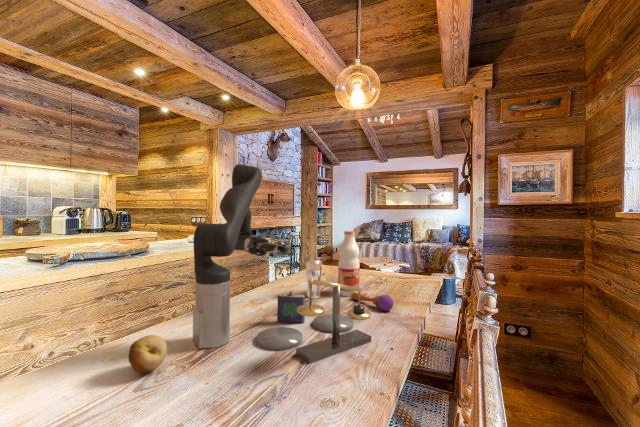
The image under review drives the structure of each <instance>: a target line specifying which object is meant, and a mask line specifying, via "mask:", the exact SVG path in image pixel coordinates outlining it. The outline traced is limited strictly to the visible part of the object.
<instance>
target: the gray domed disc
mask: <svg viewBox="0 0 640 427" xmlns="http://www.w3.org/2000/svg"><path fill="white" fill-rule="evenodd" d="M302 342H303V333H302V332H301V331H300V330H298V329H296V328H293V327H289V326H276V327H269V328H266V329H263V330H262V331H260V332H259V333H257V335H256V343H257V345H258V346H259V347H260V348H262V349H266V350H270V351H286V350H291V349H293V348H297V347H298V346H299V345H301V344H302Z"/></svg>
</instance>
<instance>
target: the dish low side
mask: <svg viewBox="0 0 640 427" xmlns="http://www.w3.org/2000/svg"><path fill="white" fill-rule="evenodd" d="M312 322H313V324H312V325H313V328H314V329H316V330H318V331H320V332H324V333H328V334H329V333H330V334H332V313H331V314H330V313H329V314H322V315H319V316H315V318H313V320H312ZM353 327H354V321H353V319H351V318H349V317H348V316H347V315H342V314H340V328H339V334H341V333H347V332H350V331H352V329H353Z"/></svg>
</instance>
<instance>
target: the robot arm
mask: <svg viewBox="0 0 640 427" xmlns="http://www.w3.org/2000/svg"><path fill="white" fill-rule="evenodd" d="M262 178H263V173H262V170H261V169H260V168H259V167H257V166H252V165H247V164H246V165H245V164H236V165H234V167H233V170H232V173H231V188H230V189H229V188H228V190H227V191H226V192H225V194H224V195H223V197H222V199H221V200H220V203H219V211H220V213H221V216H222V218H224V219H225V221H226V223H199V224H198V225H197V226H196V227H195V229H194V233H193V259H194V261H193V262H194V263H193V264H194V265H193V266H194V275H195V298H194V299H195V304H194V305H195V307H193V308H192V343H193V344H194V345H195V347H197V349H199V350H200V349H201V350H202V349H214V348H218V347H222V346H224V345H226V344H227V343H229V341H230V332H231V330H230V329H231V326H230V322H231V320H230V319H231V318H230V316H231V314H230V312H231V311H230V310H231V271H230V270H229V269H228V268H227V267H225V266H222V265H219V264H218V263H217V262H215V261H214V260H213V257H215V258H216V257H217V258H223V257H224V258H225V257H229V256H231V255H232V254H233V253H234V251H246V253H248V254H251V255H255V256H258V257H263V256H266V254H270V253H277V252H278V253H283V254H286V253H288V248H287V244H286V243H285V244H284V243H279V242H277V243H275V242H270V241H269V240H268V239H267V238H266V237H264V236H259V235H253V233H252V232H253V231H252V225H251V224H252V212H251V208H250V206H251V204H252V201H253V199H254V196H255V194H256V192H257V191H258V189H259V188H260V186H261V183H262Z"/></svg>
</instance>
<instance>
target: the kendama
mask: <svg viewBox="0 0 640 427" xmlns="http://www.w3.org/2000/svg"><path fill="white" fill-rule="evenodd" d="M350 298H351V300H354V301H358V293H357V292H353V293H352V295H351V297H350ZM360 301H365V302H371V303H373V304H374V305H375V306H376V307H377V308H379V309H380V310H381V311H383V312H388V311H391V309H393V307H394V300H393V298H392V297H391V296H390V295H388V294H382V295H377V296H375V297H370V296H366V295H365V294H362V293H360Z"/></svg>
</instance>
